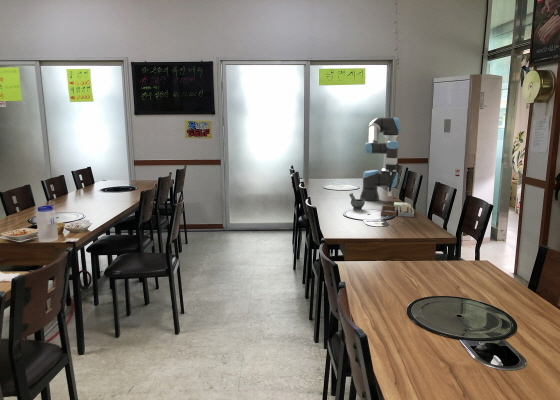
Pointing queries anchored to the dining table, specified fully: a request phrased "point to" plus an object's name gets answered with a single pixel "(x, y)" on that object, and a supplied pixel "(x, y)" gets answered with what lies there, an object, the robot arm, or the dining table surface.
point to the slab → (398, 204)
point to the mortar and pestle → (356, 202)
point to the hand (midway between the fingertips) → (389, 194)
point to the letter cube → (406, 208)
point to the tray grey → (405, 213)
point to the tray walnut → (388, 209)
